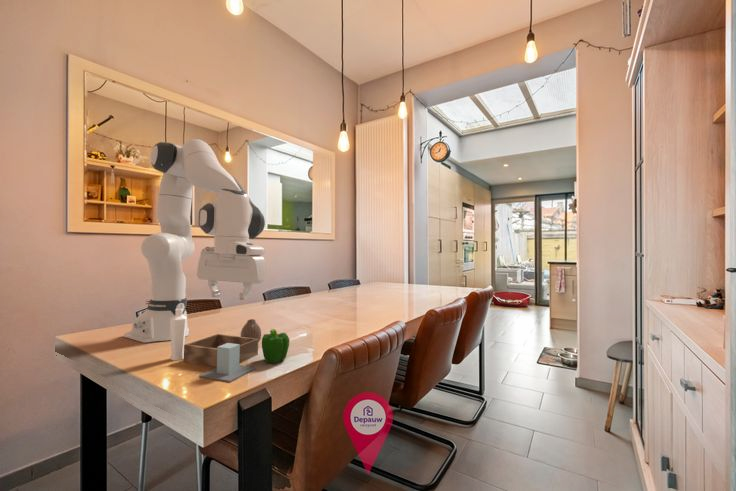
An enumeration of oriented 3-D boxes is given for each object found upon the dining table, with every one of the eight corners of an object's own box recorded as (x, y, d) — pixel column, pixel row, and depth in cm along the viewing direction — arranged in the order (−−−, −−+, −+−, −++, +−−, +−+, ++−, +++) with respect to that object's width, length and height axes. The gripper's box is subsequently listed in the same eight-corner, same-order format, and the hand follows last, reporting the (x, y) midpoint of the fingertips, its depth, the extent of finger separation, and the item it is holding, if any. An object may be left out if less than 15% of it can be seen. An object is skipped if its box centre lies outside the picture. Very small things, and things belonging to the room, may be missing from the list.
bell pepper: (276, 354, 105) (276, 323, 105) (294, 359, 101) (294, 327, 101) (254, 361, 98) (255, 328, 98) (272, 367, 94) (273, 332, 94)
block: (216, 372, 88) (217, 346, 88) (227, 367, 91) (228, 342, 92) (228, 374, 86) (229, 348, 86) (239, 369, 90) (239, 344, 90)
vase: (264, 342, 118) (264, 318, 118) (255, 348, 111) (256, 322, 111) (246, 341, 119) (246, 317, 119) (236, 347, 112) (237, 321, 112)
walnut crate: (183, 361, 96) (184, 344, 96) (217, 348, 109) (217, 333, 109) (227, 369, 92) (228, 351, 92) (257, 354, 104) (258, 338, 105)
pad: (199, 376, 86) (199, 375, 86) (226, 364, 95) (226, 363, 95) (230, 382, 83) (230, 380, 83) (255, 368, 92) (255, 367, 92)
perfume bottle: (189, 357, 100) (191, 309, 100) (174, 361, 96) (176, 311, 96) (181, 354, 102) (183, 307, 103) (166, 358, 99) (168, 309, 99)
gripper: (192, 246, 89) (190, 296, 89) (255, 248, 83) (252, 302, 83) (210, 246, 95) (207, 293, 95) (269, 249, 89) (267, 299, 89)
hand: (229, 298), depth 89 cm, fingers open, 8 cm apart
